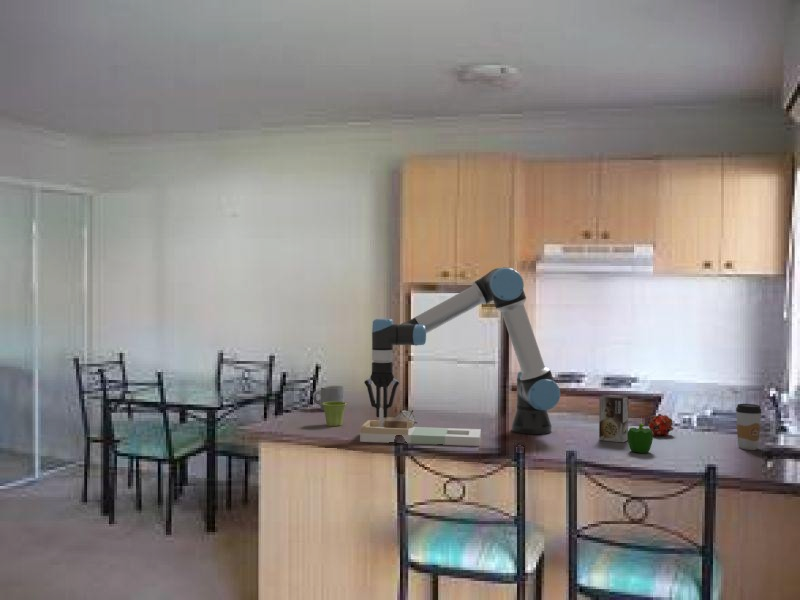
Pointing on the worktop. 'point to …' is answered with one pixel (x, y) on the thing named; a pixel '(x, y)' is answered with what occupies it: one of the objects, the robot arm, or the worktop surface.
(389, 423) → the walnut block
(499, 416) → the worktop surface
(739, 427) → the coffee cup
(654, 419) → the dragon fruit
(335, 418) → the plant pot
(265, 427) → the worktop surface
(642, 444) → the bell pepper
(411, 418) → the game die
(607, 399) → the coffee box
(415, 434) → the deck
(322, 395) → the coffee mug
